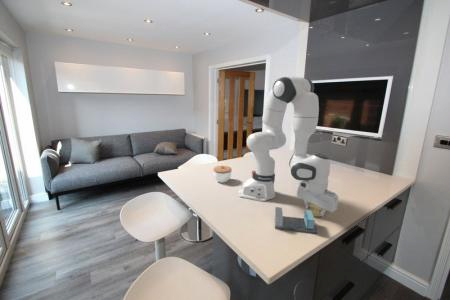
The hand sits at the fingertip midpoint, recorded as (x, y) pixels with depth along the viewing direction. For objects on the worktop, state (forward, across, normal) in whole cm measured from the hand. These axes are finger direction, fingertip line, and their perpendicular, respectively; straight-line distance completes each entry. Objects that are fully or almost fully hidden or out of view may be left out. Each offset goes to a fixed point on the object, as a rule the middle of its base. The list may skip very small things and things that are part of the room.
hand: (314, 211), depth 111 cm
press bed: (+2, 0, +16) cm, 16 cm away
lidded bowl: (+2, +64, +12) cm, 65 cm away
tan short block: (+2, 0, 0) cm, 2 cm away
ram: (0, -4, +12) cm, 13 cm away
